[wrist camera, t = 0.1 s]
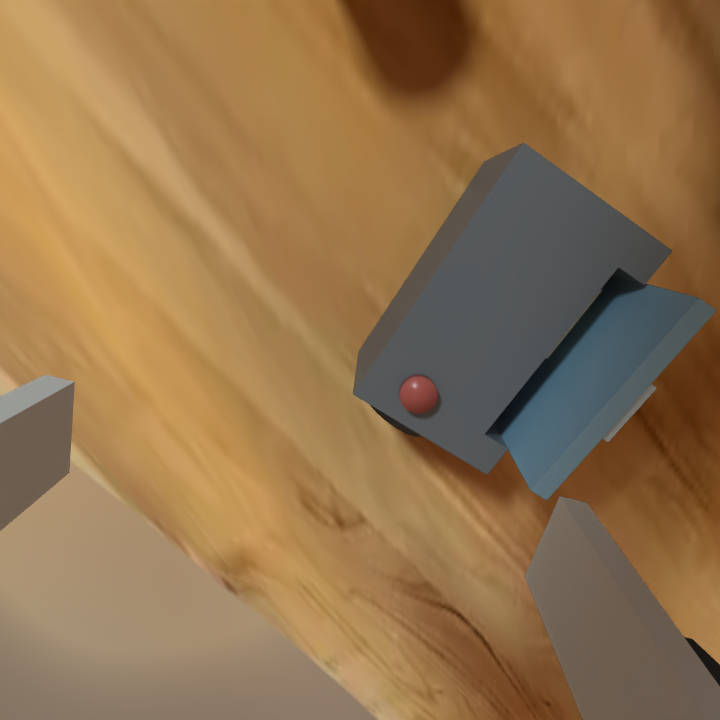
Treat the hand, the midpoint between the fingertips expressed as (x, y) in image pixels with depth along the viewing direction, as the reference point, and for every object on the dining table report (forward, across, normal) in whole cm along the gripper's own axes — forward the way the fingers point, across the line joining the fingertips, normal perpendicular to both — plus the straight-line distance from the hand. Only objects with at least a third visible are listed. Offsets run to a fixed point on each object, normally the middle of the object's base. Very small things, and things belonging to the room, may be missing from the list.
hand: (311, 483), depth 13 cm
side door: (+27, +16, 0) cm, 32 cm away
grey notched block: (+28, +9, +2) cm, 30 cm away
